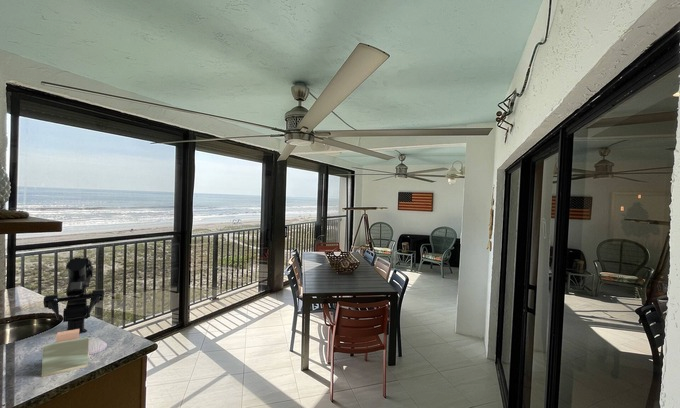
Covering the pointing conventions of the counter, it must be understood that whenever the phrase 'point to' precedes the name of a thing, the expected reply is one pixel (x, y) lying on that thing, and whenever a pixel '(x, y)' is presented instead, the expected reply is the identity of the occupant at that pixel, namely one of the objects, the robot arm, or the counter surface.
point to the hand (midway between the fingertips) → (73, 317)
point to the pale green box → (65, 356)
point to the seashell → (96, 345)
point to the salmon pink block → (67, 335)
